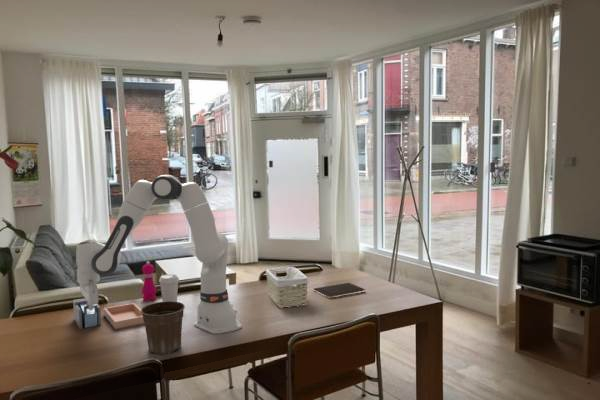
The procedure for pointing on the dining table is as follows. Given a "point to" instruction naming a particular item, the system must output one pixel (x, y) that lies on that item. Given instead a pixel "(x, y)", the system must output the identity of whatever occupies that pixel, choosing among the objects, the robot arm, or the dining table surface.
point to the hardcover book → (339, 289)
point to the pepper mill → (148, 282)
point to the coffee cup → (169, 287)
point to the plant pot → (163, 326)
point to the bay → (79, 312)
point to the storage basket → (287, 287)
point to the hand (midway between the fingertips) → (90, 308)
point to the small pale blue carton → (89, 315)
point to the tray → (124, 316)
